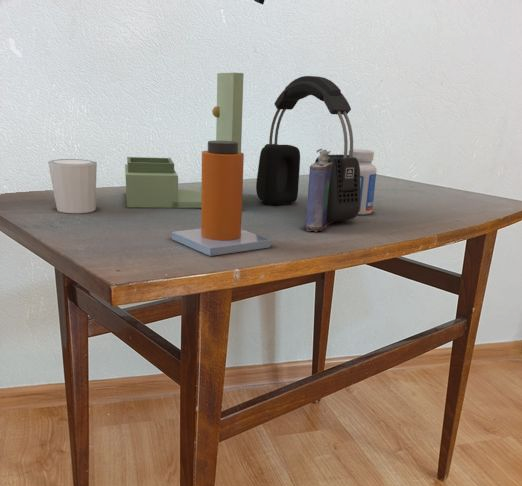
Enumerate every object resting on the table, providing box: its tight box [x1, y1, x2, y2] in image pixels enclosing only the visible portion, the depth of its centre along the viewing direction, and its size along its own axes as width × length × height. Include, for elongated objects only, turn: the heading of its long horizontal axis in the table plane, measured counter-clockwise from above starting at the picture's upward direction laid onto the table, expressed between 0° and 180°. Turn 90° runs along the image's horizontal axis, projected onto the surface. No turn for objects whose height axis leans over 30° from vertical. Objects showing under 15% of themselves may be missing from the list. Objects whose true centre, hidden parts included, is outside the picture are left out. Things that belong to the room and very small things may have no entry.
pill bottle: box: [348, 148, 377, 216], centre depth 96 cm, size 6×5×10 cm
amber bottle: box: [200, 140, 245, 241], centre depth 72 cm, size 5×5×11 cm
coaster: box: [171, 228, 272, 257], centre depth 75 cm, size 9×9×1 cm
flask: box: [304, 148, 333, 233], centre depth 85 cm, size 9×3×11 cm, turn 158°
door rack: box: [124, 72, 245, 209], centre depth 96 cm, size 18×16×20 cm
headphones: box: [255, 75, 360, 223], centre depth 92 cm, size 22×6×20 cm, turn 32°
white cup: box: [47, 158, 98, 214], centre depth 88 cm, size 7×7×7 cm
